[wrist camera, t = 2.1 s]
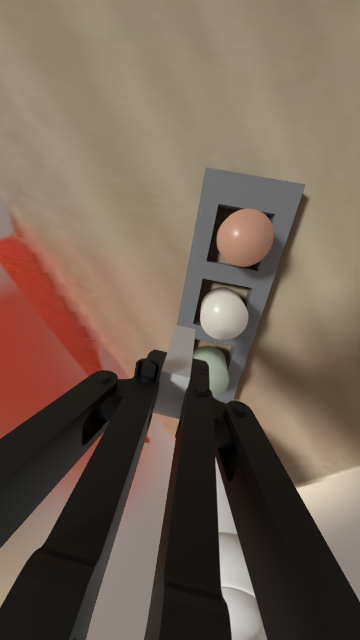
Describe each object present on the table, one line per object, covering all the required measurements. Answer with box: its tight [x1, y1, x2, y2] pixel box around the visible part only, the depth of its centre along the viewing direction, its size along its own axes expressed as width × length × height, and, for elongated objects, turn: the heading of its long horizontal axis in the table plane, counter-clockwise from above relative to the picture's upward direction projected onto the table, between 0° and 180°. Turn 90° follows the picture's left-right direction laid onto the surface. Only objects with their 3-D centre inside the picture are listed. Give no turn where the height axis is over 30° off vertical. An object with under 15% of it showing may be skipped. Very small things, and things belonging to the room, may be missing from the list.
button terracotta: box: [216, 209, 274, 267], centre depth 22 cm, size 5×5×4 cm
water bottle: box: [215, 404, 263, 640], centre depth 24 cm, size 7×7×25 cm
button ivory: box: [200, 287, 248, 340], centre depth 25 cm, size 5×5×4 cm
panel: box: [177, 168, 305, 403], centre depth 28 cm, size 28×10×2 cm, turn 170°
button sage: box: [192, 346, 229, 397], centre depth 28 cm, size 5×5×4 cm
